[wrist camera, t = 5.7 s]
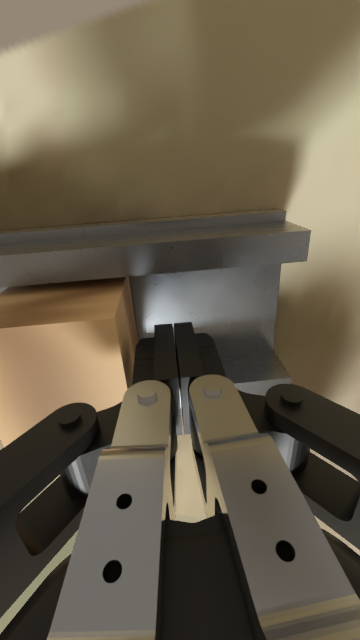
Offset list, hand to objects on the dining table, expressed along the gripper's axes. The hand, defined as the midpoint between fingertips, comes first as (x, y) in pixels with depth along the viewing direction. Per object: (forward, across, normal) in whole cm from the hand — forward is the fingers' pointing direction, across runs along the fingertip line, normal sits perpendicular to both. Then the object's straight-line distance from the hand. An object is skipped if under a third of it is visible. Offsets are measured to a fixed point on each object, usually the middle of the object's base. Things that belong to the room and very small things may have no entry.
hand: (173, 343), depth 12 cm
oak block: (+3, +4, 0) cm, 5 cm away
